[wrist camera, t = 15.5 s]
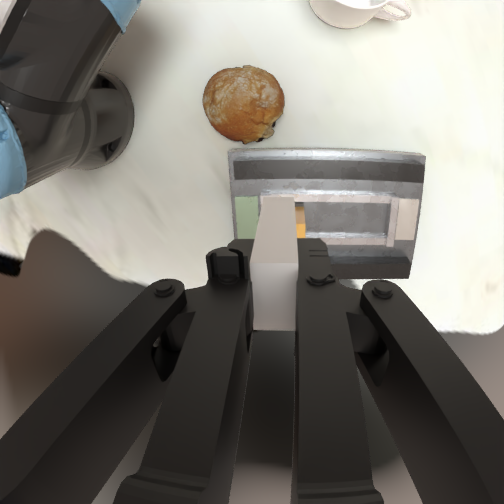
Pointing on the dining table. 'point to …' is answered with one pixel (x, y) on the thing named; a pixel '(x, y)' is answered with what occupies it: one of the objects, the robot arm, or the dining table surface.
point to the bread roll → (243, 103)
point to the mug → (356, 11)
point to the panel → (338, 202)
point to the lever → (300, 219)
